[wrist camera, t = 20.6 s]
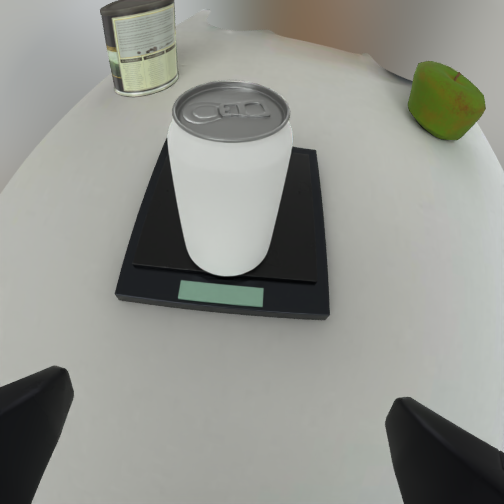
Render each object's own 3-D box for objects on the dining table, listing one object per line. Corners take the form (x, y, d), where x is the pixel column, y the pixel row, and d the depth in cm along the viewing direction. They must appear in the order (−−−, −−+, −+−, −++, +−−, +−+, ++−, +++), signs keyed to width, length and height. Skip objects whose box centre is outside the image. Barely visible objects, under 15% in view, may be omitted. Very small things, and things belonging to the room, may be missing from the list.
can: (183, 212, 25) (165, 81, 14) (260, 204, 26) (280, 75, 15) (189, 284, 21) (160, 155, 11) (277, 273, 22) (318, 144, 12)
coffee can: (101, 93, 37) (84, 13, 25) (142, 65, 42) (134, -6, 30) (151, 101, 36) (140, 8, 24) (191, 71, 41) (190, -9, 29)
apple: (405, 96, 44) (425, 45, 34) (462, 130, 41) (488, 83, 31) (393, 121, 38) (419, 59, 28) (461, 164, 35) (496, 107, 26)
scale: (325, 320, 22) (331, 313, 21) (119, 300, 22) (112, 292, 20) (313, 157, 32) (317, 147, 30) (167, 145, 31) (166, 134, 30)
